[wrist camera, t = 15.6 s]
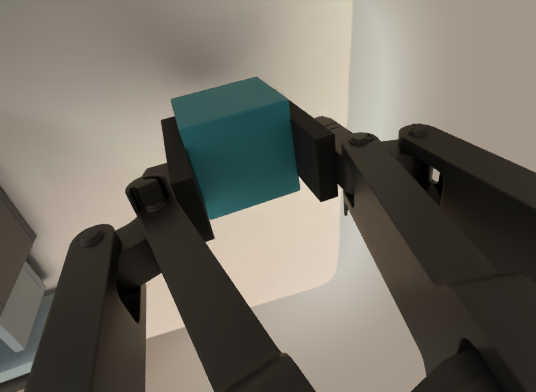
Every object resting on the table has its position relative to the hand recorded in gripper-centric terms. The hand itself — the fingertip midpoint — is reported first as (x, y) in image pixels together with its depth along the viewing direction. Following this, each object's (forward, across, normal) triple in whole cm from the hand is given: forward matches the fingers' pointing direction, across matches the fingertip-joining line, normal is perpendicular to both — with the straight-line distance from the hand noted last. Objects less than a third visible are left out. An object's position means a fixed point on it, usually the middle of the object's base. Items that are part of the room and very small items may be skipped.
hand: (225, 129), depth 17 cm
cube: (0, 0, 0) cm, 0 cm away
